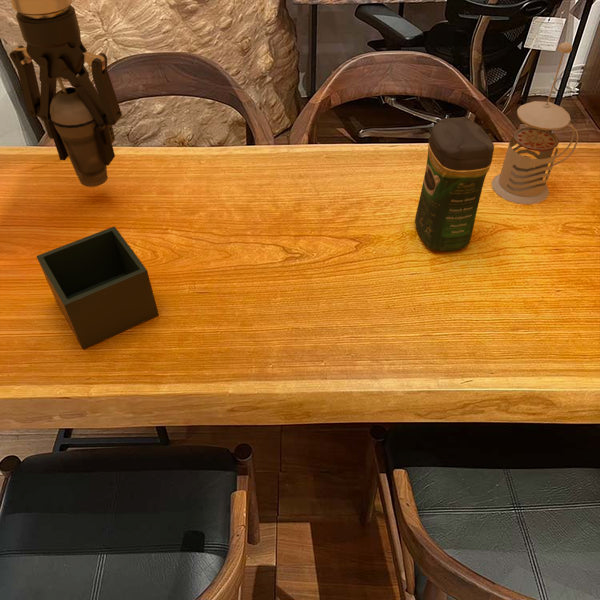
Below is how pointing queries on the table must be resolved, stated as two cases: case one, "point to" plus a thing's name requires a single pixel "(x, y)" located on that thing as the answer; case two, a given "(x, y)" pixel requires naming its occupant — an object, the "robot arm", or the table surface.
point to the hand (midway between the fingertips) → (87, 157)
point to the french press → (520, 169)
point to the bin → (99, 286)
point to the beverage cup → (78, 135)
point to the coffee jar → (453, 183)
